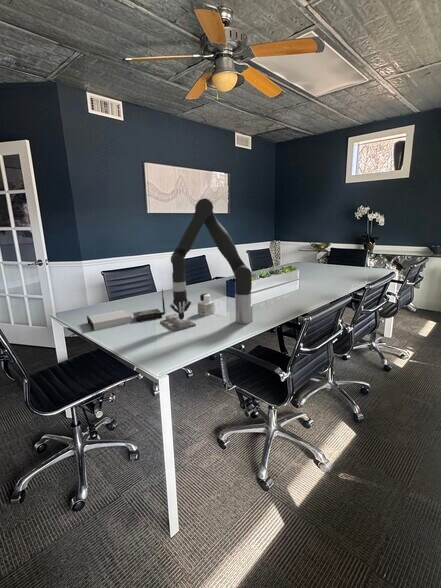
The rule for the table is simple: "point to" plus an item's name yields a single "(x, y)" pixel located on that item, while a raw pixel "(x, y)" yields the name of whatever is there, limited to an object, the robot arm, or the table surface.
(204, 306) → the container
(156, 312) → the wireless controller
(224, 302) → the table surface
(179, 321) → the key cream
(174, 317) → the key slate
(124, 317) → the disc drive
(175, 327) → the keypad
